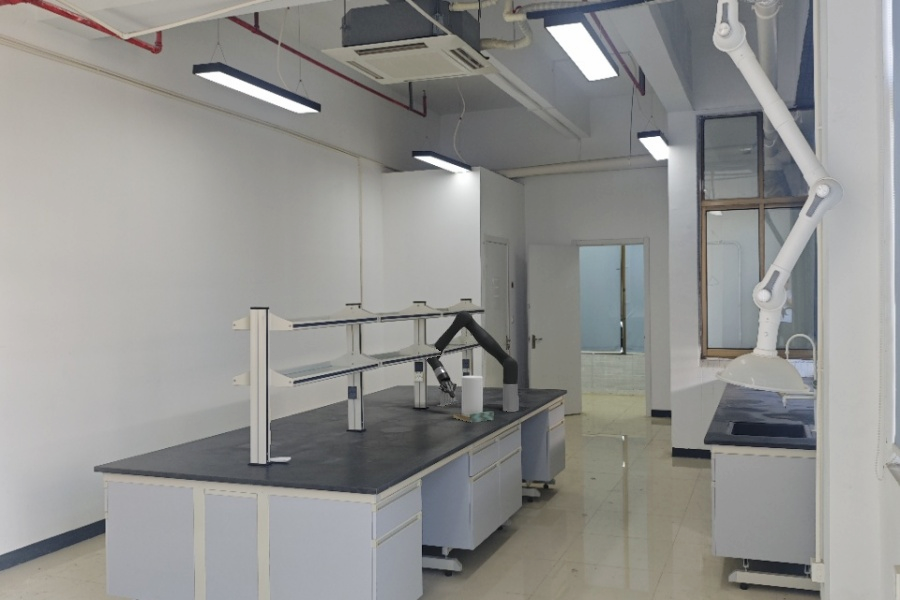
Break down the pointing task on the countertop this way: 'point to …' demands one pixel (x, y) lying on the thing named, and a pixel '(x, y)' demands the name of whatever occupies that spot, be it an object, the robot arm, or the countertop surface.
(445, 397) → the test tube rack
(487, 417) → the cradle
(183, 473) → the countertop surface
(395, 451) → the countertop surface
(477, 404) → the cylinder
